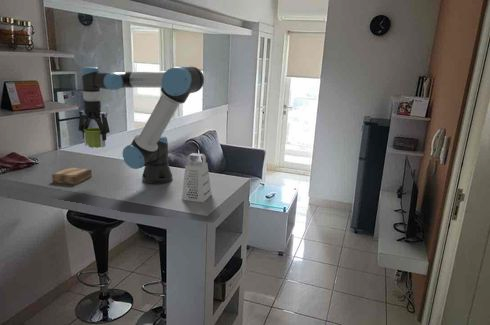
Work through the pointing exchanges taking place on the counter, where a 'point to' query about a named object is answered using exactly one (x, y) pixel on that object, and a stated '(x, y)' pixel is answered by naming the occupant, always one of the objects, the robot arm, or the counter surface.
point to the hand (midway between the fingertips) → (95, 145)
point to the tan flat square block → (71, 175)
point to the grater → (196, 179)
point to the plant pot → (93, 137)
